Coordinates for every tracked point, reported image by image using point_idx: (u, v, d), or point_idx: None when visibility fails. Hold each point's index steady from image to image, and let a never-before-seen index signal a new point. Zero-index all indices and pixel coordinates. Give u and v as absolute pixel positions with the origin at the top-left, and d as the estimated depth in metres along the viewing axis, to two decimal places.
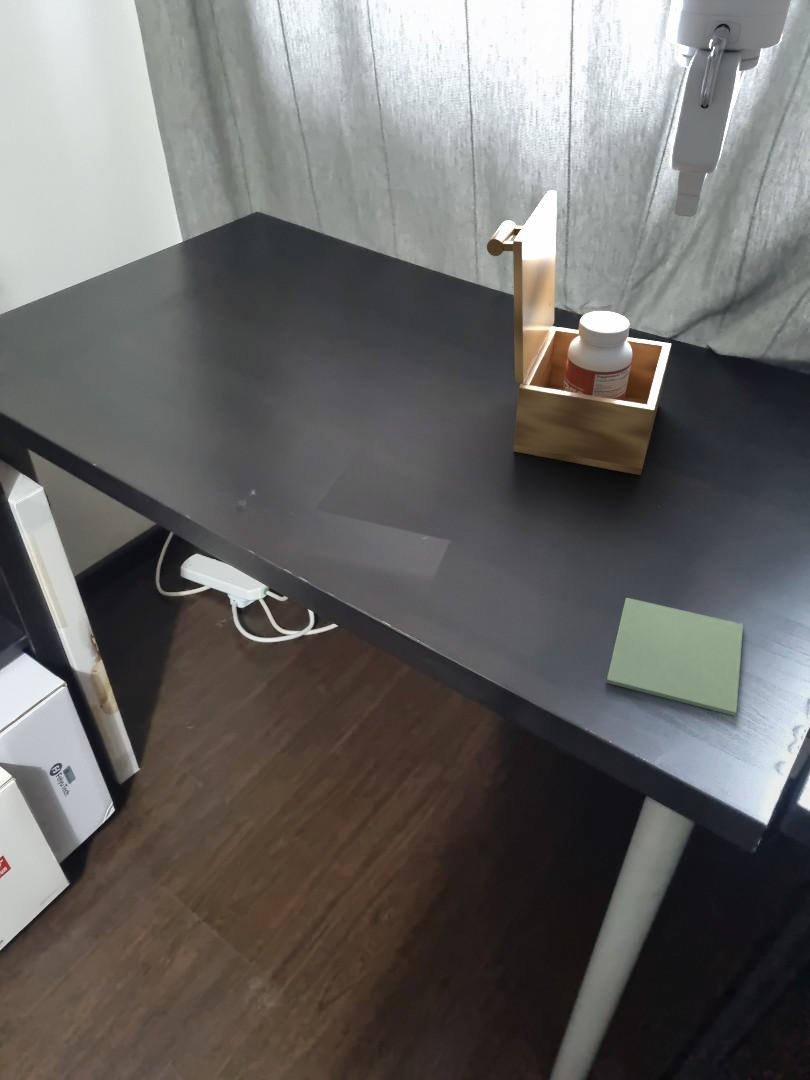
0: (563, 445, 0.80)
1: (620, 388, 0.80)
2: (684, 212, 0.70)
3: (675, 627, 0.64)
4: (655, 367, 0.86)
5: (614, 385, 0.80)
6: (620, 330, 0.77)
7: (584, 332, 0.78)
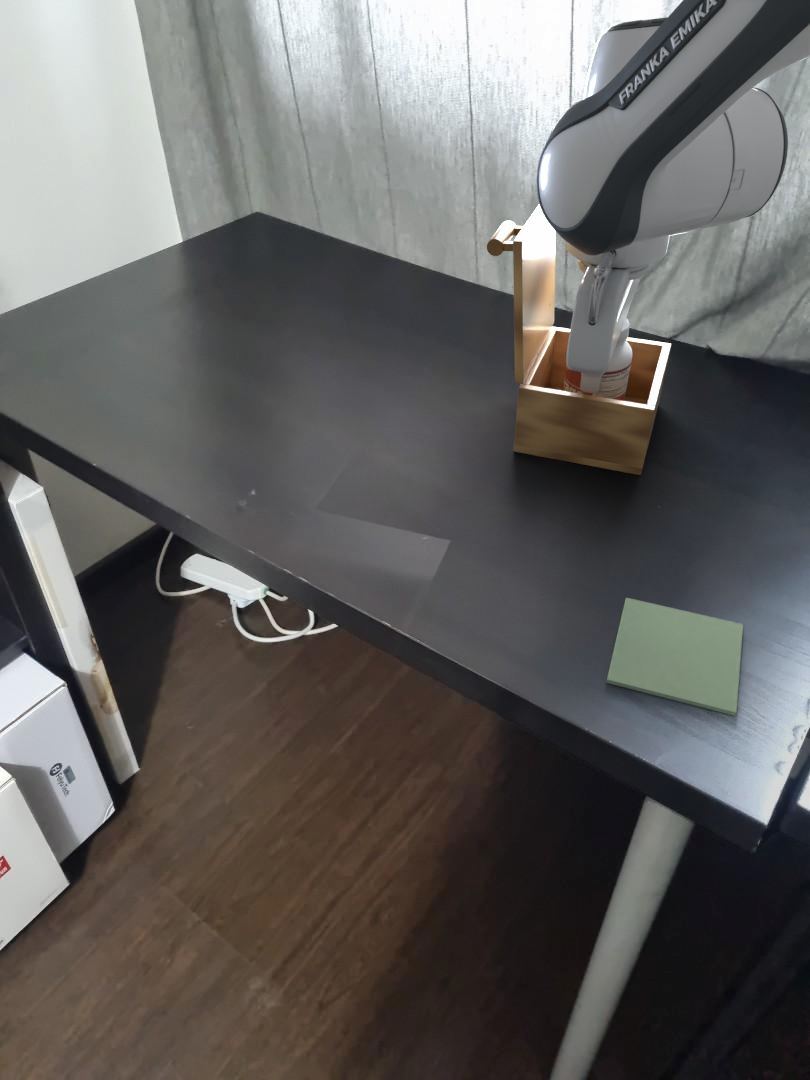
0: (563, 445, 0.80)
1: (620, 388, 0.80)
2: (588, 389, 0.78)
3: (675, 627, 0.64)
4: (655, 367, 0.86)
5: (614, 385, 0.80)
6: None
7: None
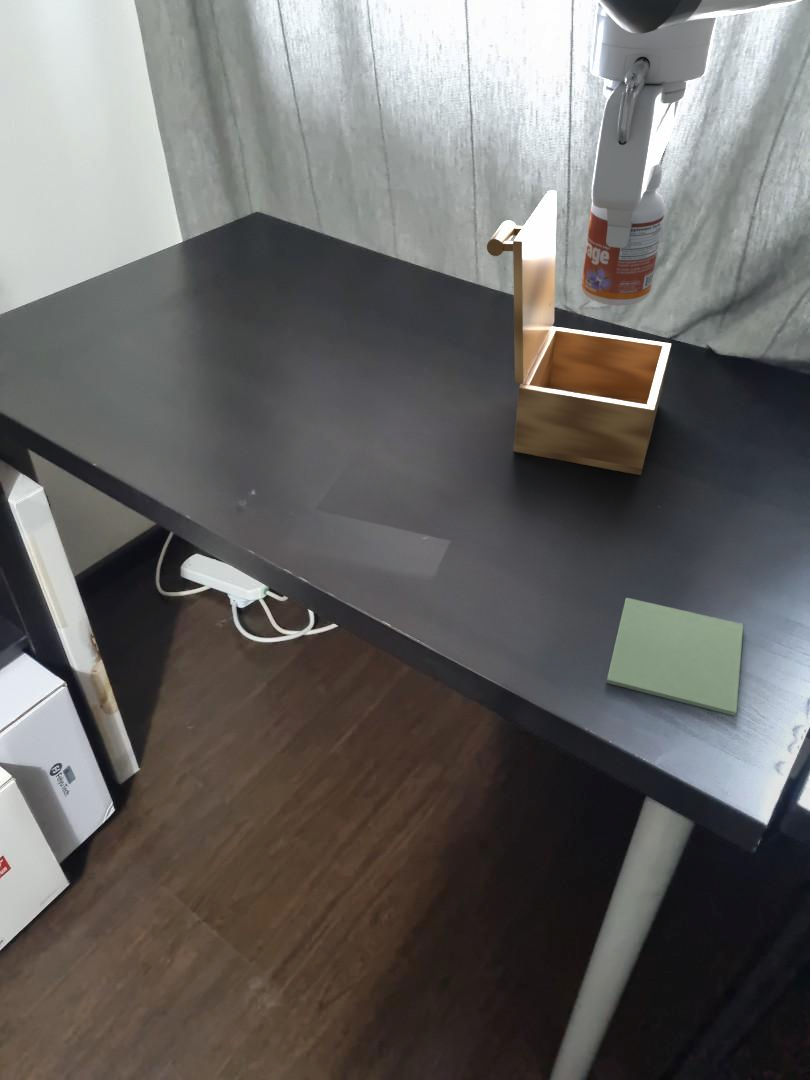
0: (563, 445, 0.80)
1: (651, 246, 0.71)
2: (615, 243, 0.69)
3: (675, 627, 0.64)
4: (655, 367, 0.86)
5: (644, 241, 0.70)
6: None
7: None
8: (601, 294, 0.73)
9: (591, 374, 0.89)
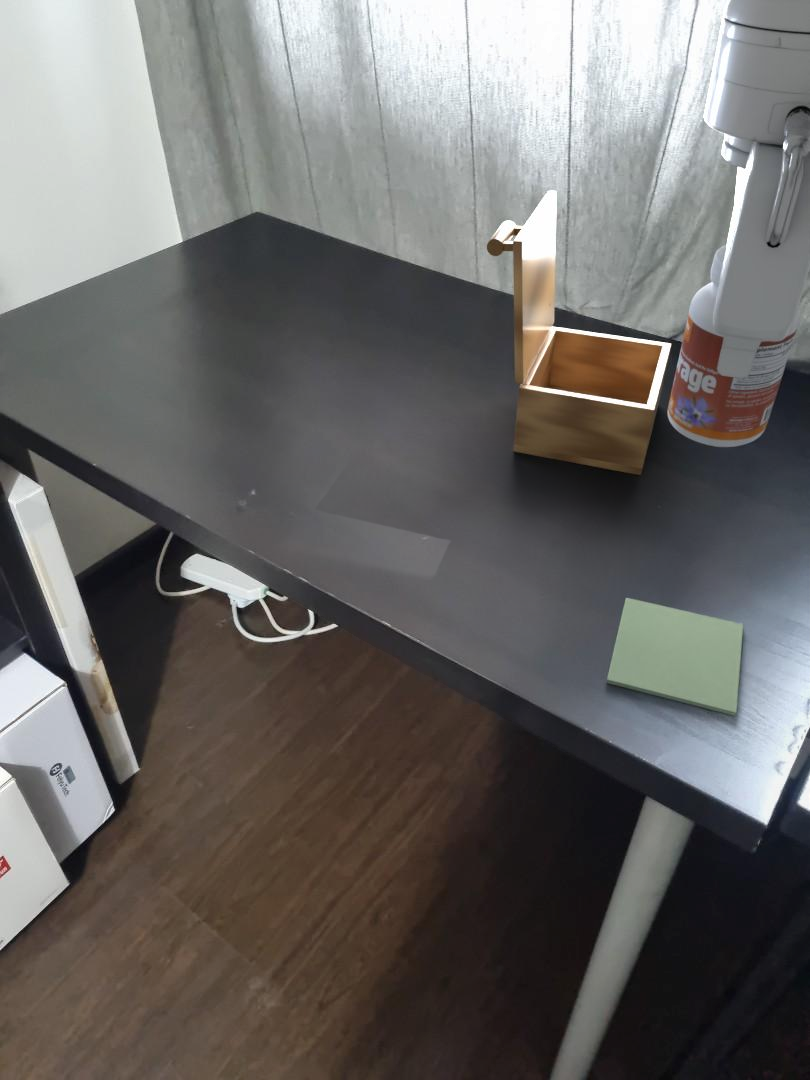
0: (563, 445, 0.80)
1: (778, 369, 0.49)
2: (732, 372, 0.47)
3: (675, 627, 0.64)
4: (655, 367, 0.86)
5: (770, 365, 0.48)
6: None
7: None
8: (700, 432, 0.51)
9: (591, 374, 0.89)
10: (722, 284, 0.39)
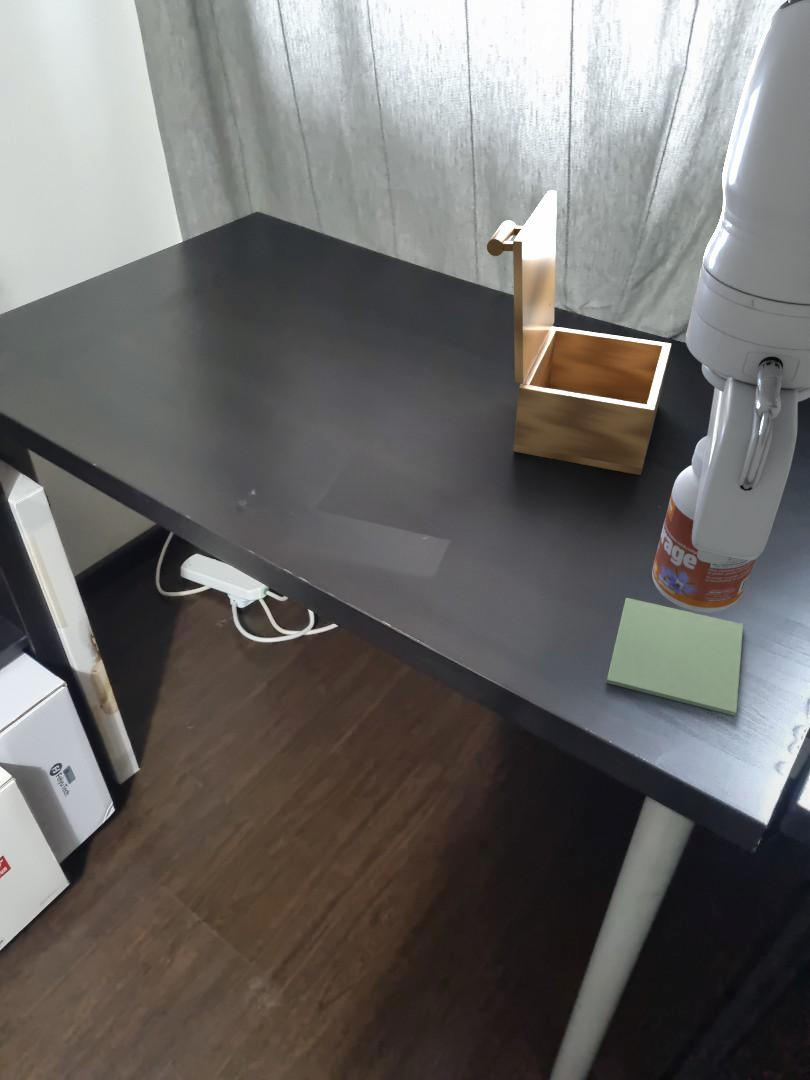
0: (563, 445, 0.80)
1: None
2: (710, 559, 0.50)
3: (675, 627, 0.64)
4: (655, 367, 0.86)
5: None
6: None
7: None
8: (681, 599, 0.55)
9: (591, 374, 0.89)
10: (700, 513, 0.43)
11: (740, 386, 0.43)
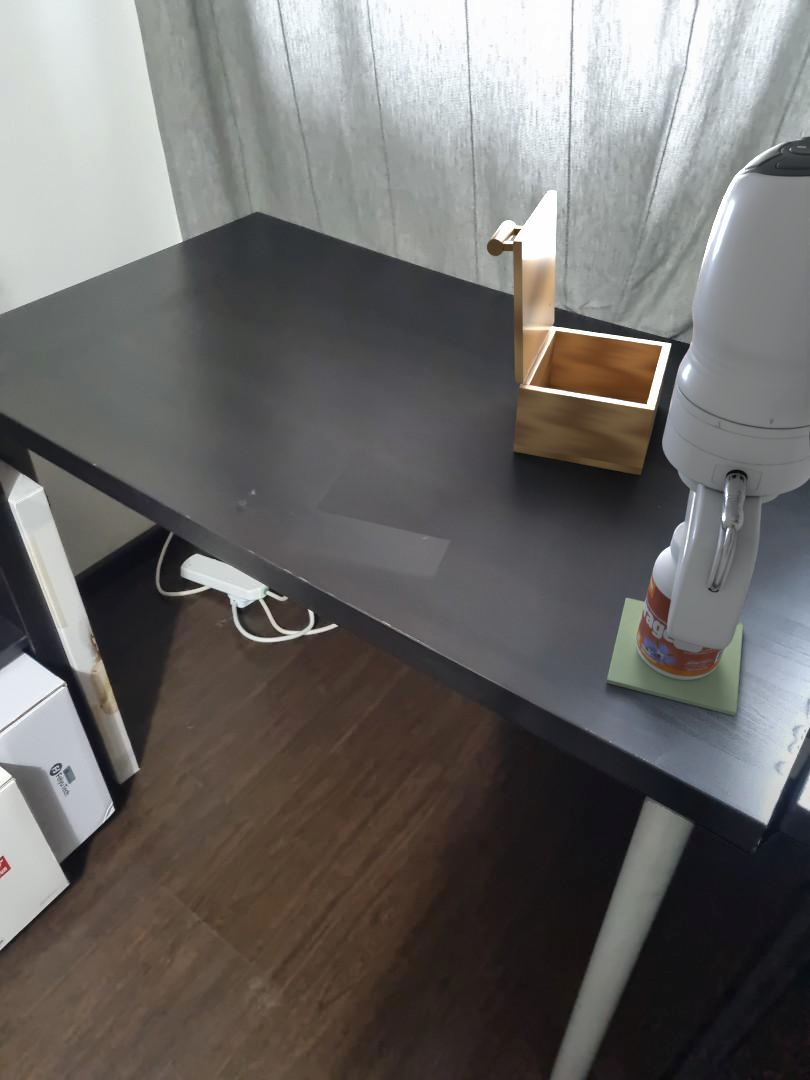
0: (563, 445, 0.80)
1: None
2: (686, 647, 0.54)
3: None
4: (655, 367, 0.86)
5: None
6: None
7: None
8: (662, 667, 0.59)
9: (591, 374, 0.89)
10: (673, 609, 0.47)
11: (710, 493, 0.48)
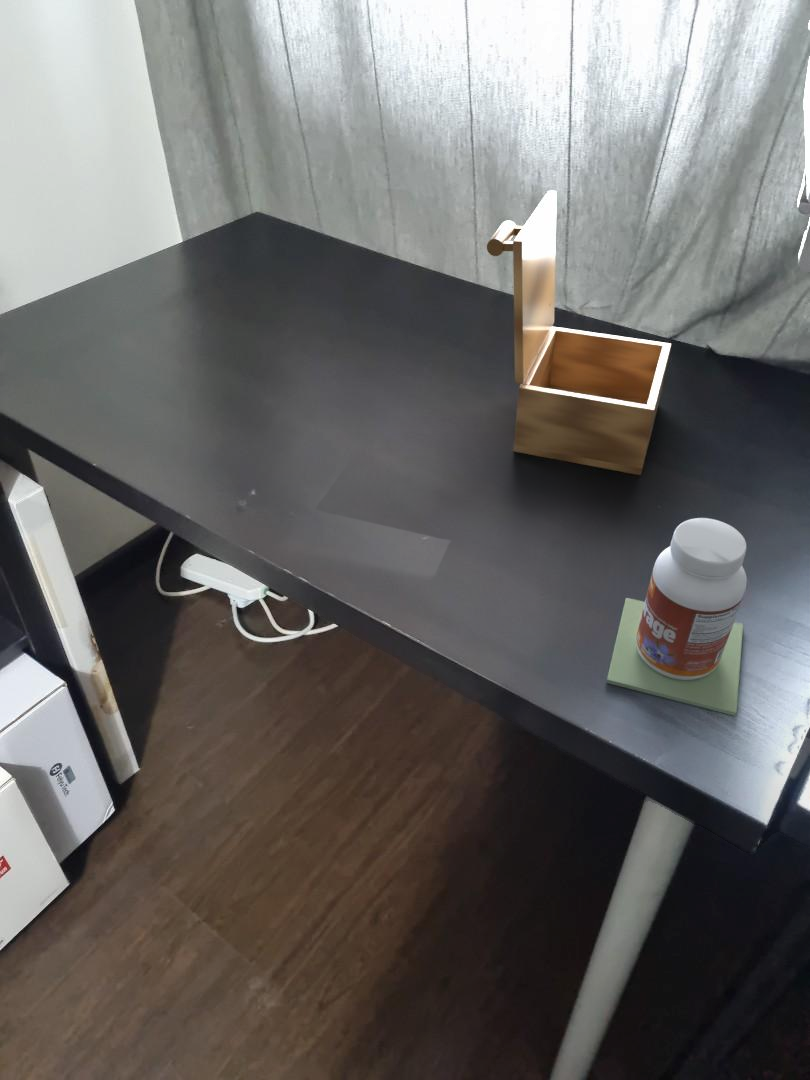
0: (563, 445, 0.80)
1: (728, 626, 0.57)
2: None
3: None
4: (655, 367, 0.86)
5: (721, 625, 0.56)
6: (735, 557, 0.53)
7: (681, 557, 0.54)
8: (662, 667, 0.59)
9: (591, 374, 0.89)
10: None
11: None
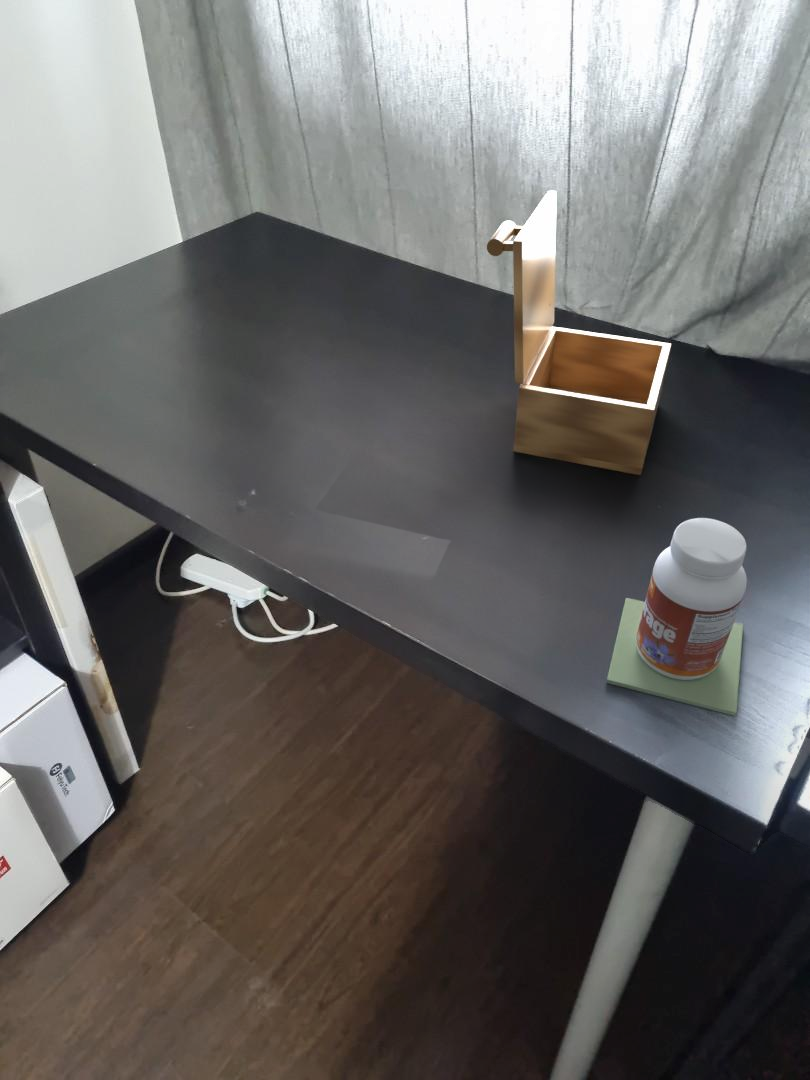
0: (563, 445, 0.80)
1: (728, 626, 0.57)
2: None
3: None
4: (655, 367, 0.86)
5: (721, 625, 0.56)
6: (735, 557, 0.53)
7: (681, 557, 0.54)
8: (662, 667, 0.59)
9: (591, 374, 0.89)
10: None
11: None
